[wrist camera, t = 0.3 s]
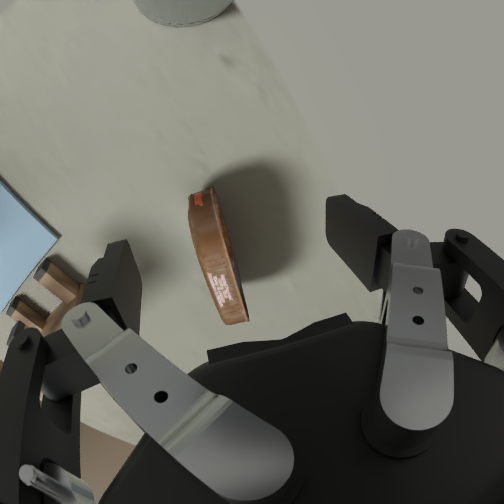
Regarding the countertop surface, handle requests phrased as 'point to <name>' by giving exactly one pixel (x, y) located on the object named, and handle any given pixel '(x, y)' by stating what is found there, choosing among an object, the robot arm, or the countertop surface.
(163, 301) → the countertop surface
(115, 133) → the countertop surface
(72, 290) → the wooden board with legs
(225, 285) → the tin
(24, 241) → the mat
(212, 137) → the countertop surface
